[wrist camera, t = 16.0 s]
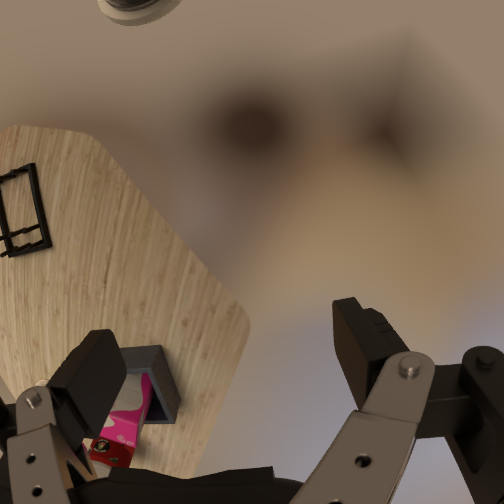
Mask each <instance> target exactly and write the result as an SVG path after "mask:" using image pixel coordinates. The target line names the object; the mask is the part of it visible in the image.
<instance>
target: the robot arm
mask: <svg viewBox="0 0 504 504" xmlns="http://www.w3.org/2000/svg"><path fill="white" fill-rule="evenodd" d="M157 1H159V0H106V2H107V3H108V4H109V5H110V6H111V7H113V8H114V9H116V10H119V11H136V10H140V9H144V8H146V7H149V6H151V5H153V4H154V3H156V2H157ZM332 310H333V332H334V346H335V351H336V355H337V358H338V360H339V363H340V365H341V368H342V370H343V372H344V375H345V377H346V380H347V382H348V385H349V387H350V390H351V392H352V395H353V397H354V400H355V402H356V405H357V407H358V410H354V411H352V412H351V414H350V415H349V416H348V418H347V420H346V421H345V423H344V425H343V426H342V428H341V430H340V431H339V433H338V434H337V436H336V438H335V439H334V441H333V442H332V444H331V445H330V447H329V448H328V450H327V451H326V453H325V454H324V456H323V457H322V459H321V460H320V462H319V463H318V465H317V466H316V468H315V469H314V471H313V472H312V473H311V475H310V476H309V478H308V479H307V480H306V482H305V483H302V482H299V481H295V480H290V479H284V478H275V475H274V471H273V467H272V466H270V467H261V468H251V469H238V470H227V471H223V472H219V473H215V474H210V475H205V476H201V477H196V478H191V479H180V478H176V477H172V476H168V475H164V474H161V473H157V472H154V471H150V470H147V469H136V468H125V467H116V466H112V467H111V470H110V473H109V476H108V477H103V478H98V476H97V474H96V471H95V469H94V466H93V464H92V461H91V459H90V456H89V454H88V451H87V448H86V446H85V445H84V444H83V442H82V441H83V439H84V438H89V439H98V438H99V435H100V433H101V431H102V429H103V427H104V424H105V422H106V420H107V418H108V416H109V413H110V411H111V409H112V407H113V405H114V403H115V400H116V398H117V396H118V394H119V392H120V390H121V388H122V386H123V384H124V381H125V379H126V376H127V368H126V364H125V361H124V359H123V356H122V354H121V351H120V349H119V346H118V344H117V341H116V339H115V336H114V334H113V332H112V331H111V330H110V329H102V330H91V331H90V332H89V333H88V335H87V336H86V337H85V338H84V340H83V341H82V342H81V344H80V345H79V346H77V347H76V348H75V349H73V350H72V351H71V352H70V354H69V355H68V356H67V358H66V360H64V361H63V363H62V364H61V367H59V368H58V369H57V371H56V372H55V373H54V375H53V376H52V377H51V379H50V380H49V381H48V383H47V384H46V386H34V387H31V388H29V389H27V390H25V391H24V392H23V393H22V394H21V395H20V396H19V397H18V399H17V401H16V403H14V404H7V405H5V403H4V402H3V400H2V399H1V397H0V450H1V451H2V452H3V455H2V457H1V459H0V504H390V503H391V501H392V499H393V496H394V494H395V492H396V489H397V487H398V485H399V483H400V480H401V478H402V476H403V473H404V471H405V469H406V466H407V464H408V461H409V459H410V456H411V454H412V451H413V448H414V445H415V443H416V440H417V439H421V438H434V437H445V439H446V441H447V443H448V445H449V447H450V450H451V452H452V454H453V456H454V458H455V460H456V462H457V464H458V466H459V469H460V471H461V473H462V475H463V477H464V480H465V482H466V484H467V486H468V489H469V491H470V494H471V496H472V498H473V501H474V503H475V504H504V354H503V353H502V352H501V351H499V350H498V349H496V348H493V347H489V346H477V347H473V348H471V349H469V350H468V351H467V352H465V354H464V356H463V359H462V364H452V365H435V364H434V362H433V361H432V359H431V358H429V357H428V356H427V355H424V354H422V353H419V352H412V351H410V350H409V349H408V347H407V346H406V345H405V343H404V342H403V341H402V339H401V338H400V337H399V335H398V334H397V333H396V331H395V330H393V327H392V326H391V325H390V323H388V321H387V320H386V318H385V317H384V316H383V314H382V313H379V312H378V311H376V310H374V309H372V308H368V309H363V308H362V307H361V305H360V304H359V303H358V301H357V300H356V298H355V297H351V298H345V299H340V300H335V301H333V304H332Z"/></svg>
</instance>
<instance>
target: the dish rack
mask: <svg viewBox="0 0 504 504" xmlns="http://www.w3.org/2000/svg"><path fill="white" fill-rule="evenodd" d="M23 172H28V173H29V179H30V185H31V190H32V195H33V200H34V205H35V210H36V214H37V219H38V224H36V225H33V226H31V227H28V228H26V227H25V228H23V229H20V230H18V231H15V232H13V231H12V232H10V233H9V229H8V225H7V221H6V216H5V212H4V207H3V202H2V197H1V191H0V227H1V231H2V235H3V236H0V241H1V240H4V242H5V246H6V250H7V251H5V252H3V253H1V254H0V256H1V257H4V256H6V255H8V257H9V258H11V257H14V256H18V255H22V254H26V253H30V252H34V251H39V250H43V249H47V248H49V247H51V246H52V243H51V239H50V235H49V231H48V227H47V223H46V219H45V215H44V210H43V206H42V201H41V196H40V191H39V186H38V180H37V175H36V169H35V163H29V164H27V165H25V166H22V167H20V168H18V169H13V170H11V171H10V172H9V173H7V174H5V175H2V176H0V184H1V183H3V181H4V180H6V179H10V178H15V177H16V175H17V174H19V173H23ZM37 228H40V231H41V235H42V240H40V241H38V242H35V243H33V244H31V243H27V244H25V245H23V246H21V247H19V248H18V247H17V246H15V247H13V245H12V241H11V238H12V237H14V236H16V235H19V234H21V233H23V234H25V233H28V232H30V231H32V230H35V229H37ZM43 243H44V244H43Z"/></svg>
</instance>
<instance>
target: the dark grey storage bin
mask: <svg viewBox="0 0 504 504" xmlns="http://www.w3.org/2000/svg"><path fill="white" fill-rule="evenodd" d="M119 349H120V351H121V354H122V356H123V359H124V361H125V364H126V368H127V374H132V373H148V375H149V378H150V380H151V383H152V385H153V387H154V394H153V397H152V400H151V403H150V406H149V409H148V412H147V415H146V418H145V421H144V424H175V422H176V418H177V413H178V409H179V405H180V401H181V398H180V396H179V393H178V391H177V388H176V386H175V383H174V380H173V378H172V375H171V372H170V370H169V367H168V364H167V362H166V359H165V356H164V353H163V350H162V347H161V345H154V346H142V347H128V348H119Z"/></svg>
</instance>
